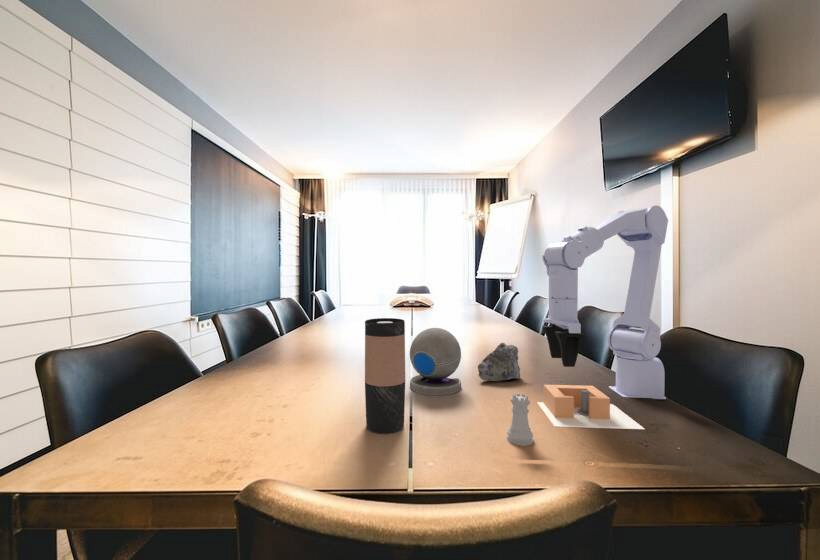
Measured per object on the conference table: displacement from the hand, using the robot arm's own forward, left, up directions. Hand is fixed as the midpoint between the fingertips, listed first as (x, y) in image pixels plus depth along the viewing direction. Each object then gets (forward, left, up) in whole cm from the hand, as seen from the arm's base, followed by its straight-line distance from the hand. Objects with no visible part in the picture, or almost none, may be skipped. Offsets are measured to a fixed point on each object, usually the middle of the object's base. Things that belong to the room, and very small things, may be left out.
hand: (562, 361), depth 80 cm
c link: (-2, +3, -9) cm, 10 cm away
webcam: (+27, -13, -10) cm, 32 cm away
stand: (-3, +4, -10) cm, 11 cm away
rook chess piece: (+12, +17, -10) cm, 24 cm away
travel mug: (+36, +12, -10) cm, 40 cm away
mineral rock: (+10, -21, -10) cm, 25 cm away
